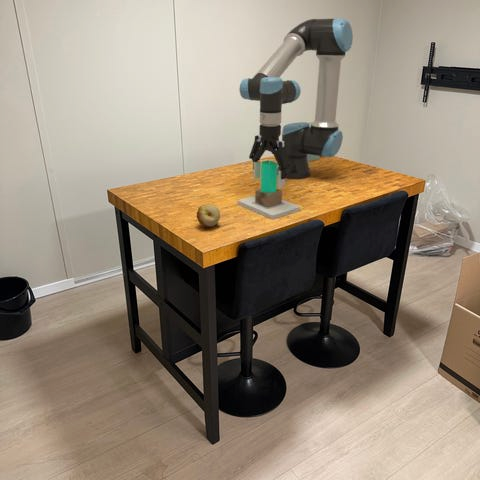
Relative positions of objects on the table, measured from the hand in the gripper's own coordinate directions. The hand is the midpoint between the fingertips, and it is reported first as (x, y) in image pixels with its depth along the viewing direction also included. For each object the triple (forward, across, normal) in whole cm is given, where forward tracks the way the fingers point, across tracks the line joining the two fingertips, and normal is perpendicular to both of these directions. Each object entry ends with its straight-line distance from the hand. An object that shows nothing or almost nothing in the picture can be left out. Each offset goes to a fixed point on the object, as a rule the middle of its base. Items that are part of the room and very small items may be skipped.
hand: (268, 182), depth 170 cm
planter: (+10, -40, +63) cm, 75 cm away
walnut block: (+8, 0, 0) cm, 8 cm away
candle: (+3, 0, 0) cm, 3 cm away
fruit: (+10, +1, -28) cm, 30 cm away
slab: (+10, 0, 0) cm, 10 cm away
